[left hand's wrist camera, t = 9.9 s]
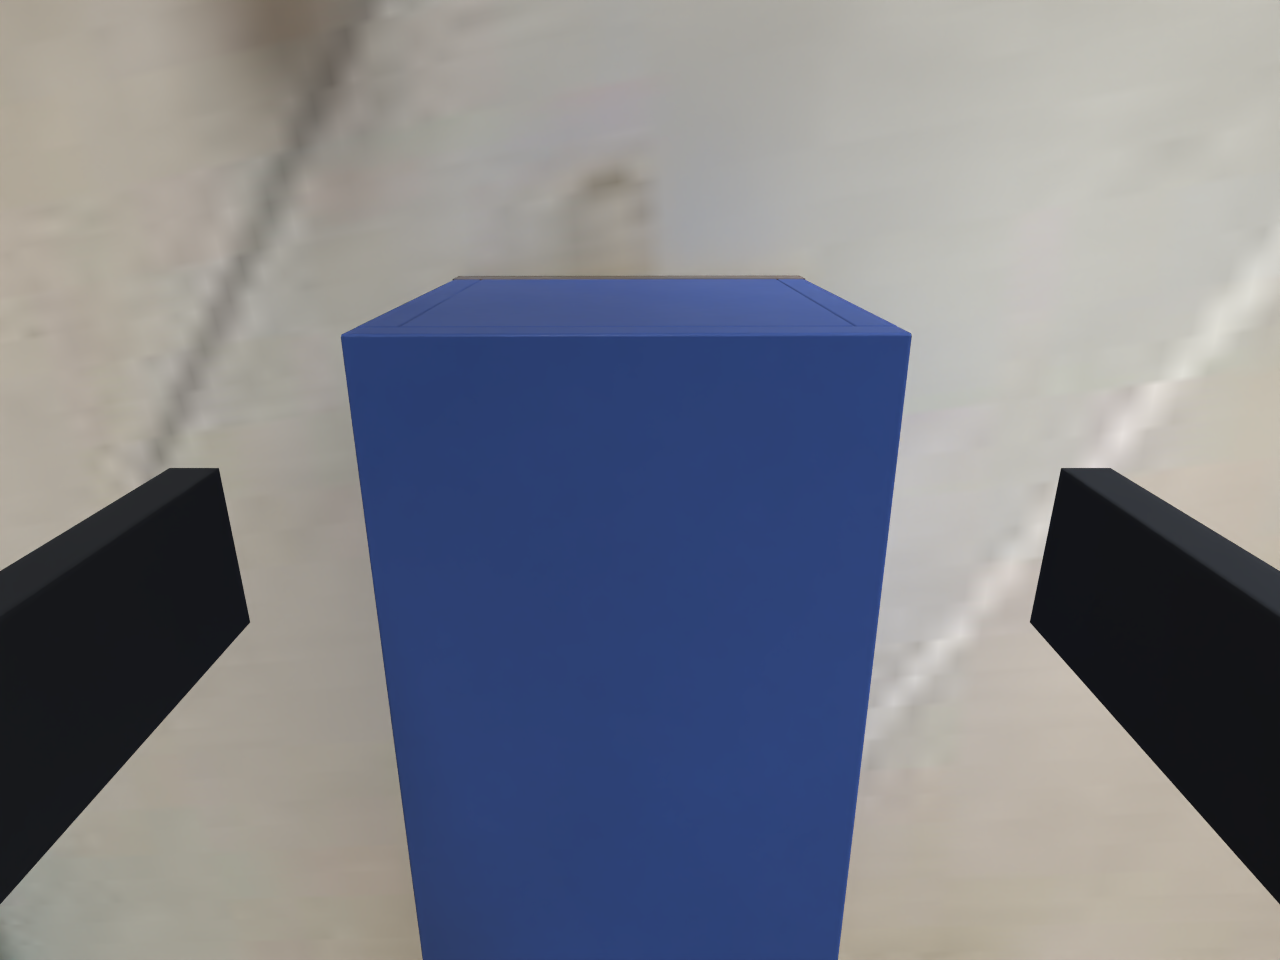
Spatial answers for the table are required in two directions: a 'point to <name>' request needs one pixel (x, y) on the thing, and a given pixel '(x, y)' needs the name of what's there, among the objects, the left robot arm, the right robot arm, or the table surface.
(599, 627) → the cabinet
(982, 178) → the table surface
